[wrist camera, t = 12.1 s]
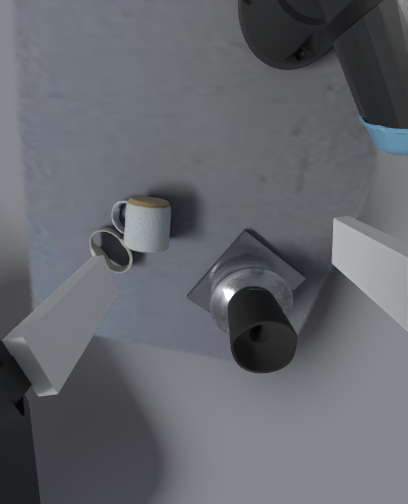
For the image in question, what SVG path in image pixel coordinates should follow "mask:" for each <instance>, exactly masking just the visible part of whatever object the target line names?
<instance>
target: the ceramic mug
mask: <svg viewBox="0 0 408 504" xmlns="http://www.w3.org/2000/svg"><path fill="white" fill-rule="evenodd" d="M124 203H127V206H126V220H125V228H124V227H123V226H122V225H121V223H120V220H119V214H120V209H121V205H122V204H124ZM112 221H113V224H114V226H115V227H116V228H117V230H119V231H120V232H121V233H123V234H124V245H125V246H126V247H127V248H129V249H131V250H134V251H139V252H148V253H156V252H161V251H164V250H166V249H167V248H168V247H169V237H170V222H171V206H170V203H169V202H168V201H167V200H164V199H161V198H156V197H147V196H134V197H131V198H130V199H129V200H123V201H119V202H117V203H116V204H115V205H114V207H113V210H112Z"/></svg>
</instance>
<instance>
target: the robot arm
mask: <svg viewBox="0 0 408 504" xmlns="http://www.w3.org/2000/svg"><path fill="white" fill-rule="evenodd" d="M238 13H239V20H240V25H241V29H242V33H243V35H244V38H245V40H246V42H247V44H248V46H249V47H250V49H251V50H252V52H253V53H254V54H255V55H256V56H257V57H258V58H259V59H260V60H261V61H262V62H264V63H265V64H267V65H269V66H271V67H274V68H278V69H284V70H290V69H297V68H300V67H303V66H306V65H308V64H310V63H312V62H313V61H315V60H316V59H318V58H319V57H320V56H321V55H323V54H324V53H325V52H326V51H327V50H329V49H330V48H331V47H332V46H334V49H335V51H336V54H337V56H338V59H339V62H340V64H341V67H342V70H343V72H344V75H345V77H346V80H347V83H348V85H349V88H350V90H351V93H352V96H353V98H354V101H355V103H356V106H357V109H358V111H359V115H358V116H359V119H360V121H361V123H362V124H363V125H365V126H366V129H367V131H368V133H369V135H370V137H371V139H372V141H373V143H374V145H375V146H376V147H377V148H378V149H380V150H383V151H386V152H387V153H390V154H396V155H408V0H238ZM332 264H333V265H334V266H335V267H337V268H338V269H339V270H340V271H341V272H342V273H343V274H344V275H345V276H347V277H348V278H349V279H350V280H351V281H352V282H353V283H354V284H356V285H357V286H358V287H359V288H360V289H361V290H362V291H364V293H366V294H367V295H368V296H369V297H370V298H371V299H372V300H373V301H374V302H376V303H377V304H378V305H379V306H380V307H381V308H382V309H383V310H384V311H386V312H387V313H388V314H389V315H390V316H391V317H392V318H393V319H395V320H396V321H397V322H398V323H399V324H400V325H401V326H402V327H403V328H405V329H406V330H407V331H408V243H406V242H404V241H401V240H399V239H397V238H395V237H393V236H391V235H388V234H386V233H384V232H382V231H380V230H378V229H375V228H373V227H371V226H369V225H367V224H365V223H362V222H360V221H358V220H356V219H354V218H352V217H349V216H345V217H338V218H334V223H333V246H332ZM117 296H118V293H117V290H116V287H115V285H114V282H113V279H112V277H111V274H110V271H109V269H108V266H107V263H106V260H105V258H104V255H101V256H95V257H91V258H90V259H88V260H87V261H86V262H85V263H84V264H83V265H82V266H81V267H80V268H79V269H78V270H77V271H76V272H75V273H73V274H72V275H71V276H70V277H69V278H68V279H67V280H66V281H65V282H64V283H63V284H62V285H61V286H59V287H58V288H57V289H56V290H55V291H54V292H53V293H52V294H51V295H50V296H49V297H48V298H47V299H45V300H44V301H43V302H42V303H41V304H40V305H39V306H38V307H37V308H36V309H35V310H33V311H32V312H31V313H30V314H29V315H28V316H27V317H26V318H24V320H23V321H21V322H20V323H19V324H18V325H17V326H16V327H15V328H14V329H13V330H11V331H10V332H9V333H8V334H7V335H6V336H5V337H4V338H3V339H2V340H1V341H0V504H41V503H40V494H39V485H38V477H37V469H36V460H35V452H34V442H33V434H32V425H31V417H30V408H29V401H28V399H27V398H26V396H25V395H24V394H25V393H26V391H27V390H28V389H29V387H30V386H32V387H33V389H34V390H35V392H36V393H37V395H38V396H46V395H54V394H58V393H59V391H60V389H61V388H62V386H63V384H64V383H65V381H66V379H67V378H68V376H69V375H70V373H71V371H72V370H73V368H74V366H75V365H76V363H77V361H78V360H79V358H80V356H81V355H82V353H83V352H84V350H85V348H86V347H87V345H88V343H89V342H90V340H91V338H92V337H93V335H94V333H95V332H96V330H97V329H98V327H99V325H100V324H101V322H102V320H103V319H104V317H105V315H106V314H107V312H108V310H109V309H110V307H111V305H112V304H113V302H114V301H115V299H116V297H117Z"/></svg>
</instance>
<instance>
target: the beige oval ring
mask: <svg viewBox="0 0 408 504" xmlns="http://www.w3.org/2000/svg"><path fill="white" fill-rule="evenodd" d="M101 231H103V232H109V233H112V234H113V235H114V236H115V237H117V238H118V239H119V241H120V242H121V244H122V245H123V246H124V248H126V250H127V252H128V254H129V257H130V262H129V263H128V264H127V265H125V266H121V267H120V266H115V265H114V264H112V263H111V261H110V260H109V258H108V256H107V255H106V254H105V253H104V251H103V250H102V249H101V248H100V247H99V246H97V245H96V244H95V243H94V241H93V235H94V234H95V233H97V232H101ZM89 245H90V247H91V248H90V251H91V253H92V255H93V257H95V256H101V255H104V258H105V260H106V263H107V266H108V269H109V270H111V271H112V272H114V273H123V272H125V271H127V270H128V269H129V268H130V267H131V265H132V258H133V256H132V250H131V249H129V248H127V247H126V246H125V245H124V236H120V235H119V234H118V233H117V232H116V231H114V230H113V229H111V228H106V227H100V228H98V229H96V230H95V231H94V232H93V233H92V235H91V237H90V239H89Z"/></svg>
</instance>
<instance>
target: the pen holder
mask: <svg viewBox="0 0 408 504" xmlns="http://www.w3.org/2000/svg"><path fill="white" fill-rule="evenodd" d="M227 311H228V324H229V334H230V345H231V351H232V355H233V357H234V359H235V361H236V363H237V364H238V365H239V366H240V367H242V368H243V369H245V370H247V371H250V372H254V373H270V372H274V371H277V370H280V369H282V368H284V367H285V366H287V365H288V364H289V363H290V361H291V360H292V358H293V356H294V354H295V350H296V344H297V334H296V332H295V331H294V329H293V327H292V325H291V324H290V322H289V320H288V319H287V317H286V315H285V313H284V312H283V310H282V308H281V307H280V305H279V303H278V302H277V300H276V299H275V297H274V296H273V294H272V293H271V292H270V291H268V290H267V289H265V288H262V287H257V286H250V287H245V288H243V289H240V290H239V291H237V292H236V293H235V294H234V295H233V296H232V297H231V298H230V300H229V303H228V308H227Z"/></svg>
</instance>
